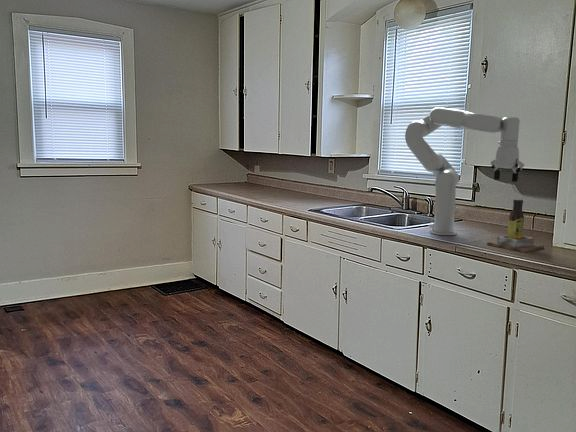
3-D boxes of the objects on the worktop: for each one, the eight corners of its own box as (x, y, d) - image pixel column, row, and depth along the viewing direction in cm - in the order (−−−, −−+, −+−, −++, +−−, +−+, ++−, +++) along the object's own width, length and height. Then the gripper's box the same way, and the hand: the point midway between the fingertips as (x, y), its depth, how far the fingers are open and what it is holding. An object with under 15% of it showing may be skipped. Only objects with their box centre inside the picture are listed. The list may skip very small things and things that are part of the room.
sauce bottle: (516, 245, 236) (520, 200, 233) (503, 243, 241) (507, 199, 238) (525, 244, 240) (528, 199, 237) (512, 241, 245) (515, 198, 242)
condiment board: (487, 244, 244) (487, 235, 243) (507, 241, 252) (507, 232, 252) (523, 252, 229) (524, 242, 228) (543, 248, 237) (544, 239, 237)
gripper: (488, 143, 257) (485, 179, 260) (520, 144, 242) (516, 182, 245) (498, 143, 261) (495, 178, 264) (530, 144, 246) (526, 182, 249)
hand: (505, 180), depth 254 cm, fingers open, 9 cm apart
